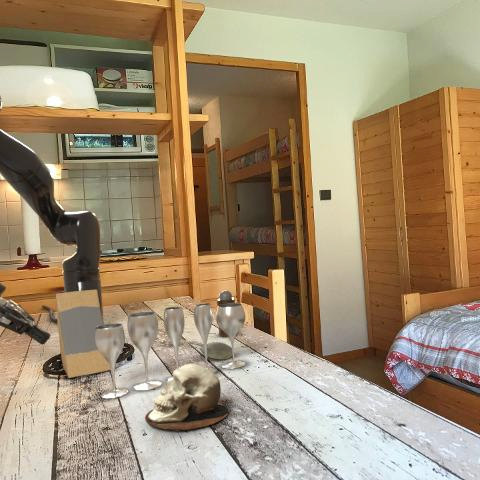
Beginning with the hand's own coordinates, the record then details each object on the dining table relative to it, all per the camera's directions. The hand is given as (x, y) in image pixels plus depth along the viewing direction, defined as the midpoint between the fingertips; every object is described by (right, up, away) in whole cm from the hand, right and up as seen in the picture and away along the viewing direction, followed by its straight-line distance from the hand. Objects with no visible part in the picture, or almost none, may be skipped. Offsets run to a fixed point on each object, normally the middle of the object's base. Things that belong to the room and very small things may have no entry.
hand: (47, 340), depth 106 cm
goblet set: (+30, -5, -10) cm, 32 cm away
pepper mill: (+33, -3, +24) cm, 41 cm away
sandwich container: (+7, -6, +3) cm, 10 cm away
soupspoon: (+29, -4, +9) cm, 31 cm away
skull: (+36, -6, -29) cm, 47 cm away
